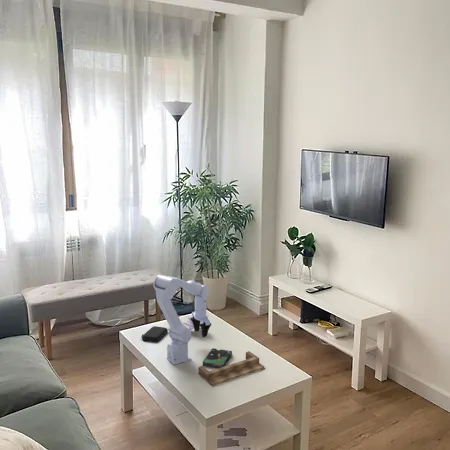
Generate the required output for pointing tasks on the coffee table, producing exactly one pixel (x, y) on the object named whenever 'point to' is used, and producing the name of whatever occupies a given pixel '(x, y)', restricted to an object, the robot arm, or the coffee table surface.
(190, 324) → the water lily
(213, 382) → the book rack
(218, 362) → the disk drive
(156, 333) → the carrying case or bag
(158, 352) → the coffee table surface
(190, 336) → the robot arm
